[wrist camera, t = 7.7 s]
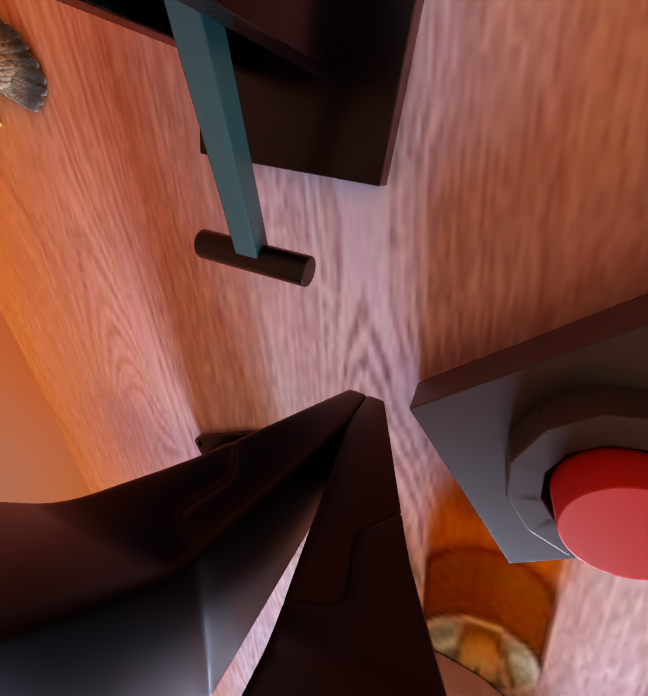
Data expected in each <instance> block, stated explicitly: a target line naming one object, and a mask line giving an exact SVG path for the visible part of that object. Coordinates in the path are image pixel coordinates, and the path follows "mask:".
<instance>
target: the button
mask: <svg viewBox="0 0 648 696" xmlns="http://www.w3.org/2000/svg"><path fill="white" fill-rule="evenodd" d="M550 494H551V499H552V505H553V510H554V516H555V521H556V527H557V531H558V534H559V537H560V539H561V541H562V542H563V543H564V545H565V546H566V548H567V549H568V550H569V551H570V552H571V553H572V554H573V555H575V556H576V557H577V558H578V559H580V560H581V561H583V562H584V563H586V564H588V565H590V566H591V567H594V568H596V569H598V570H600V571H603V572H606V573H608V574H612V575H615V576H619V577H624V578H629V579H637V580H648V454H647V453H645V452H641V451H638V450H633V449H628V448H620V447H602V448H594V449H589V450H585V451H581V452H579V453H576V454H574V455H572V456H570V457H568V458H567V459H565V460H564V461H562V462H561V463H560V464H559V465H558V466H557V467H556V469H555V470H554V472H553V474H552V476H551V479H550Z"/></svg>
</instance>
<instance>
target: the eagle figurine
mask: <svg viewBox="0 0 648 696" xmlns="http://www.w3.org/2000/svg"><path fill="white" fill-rule="evenodd" d="M28 50H29V46H28V44H27V43H25V42H23V41H21V40H20V35H19V33H18V32H17V31H15V30H14V29H13V28H12V27H11V26H9V25H7V24H5V23H4V22H3V21H2V20H1V19H0V94H2V95H4V96H5V97H7V98H9V99H11V100H12V101H14V102H16V103H18V104H20V105H21V106H23V107H24V108H26V109H28V110H31V111H33V112H38V106H41V105H44V99H43V96H46V95H47V94H48V89H47V87H46V83H47V79H46V77H45V75H44V74H43V73H42V72H41V71H40V70H39V67H40V65H39V63H38V61H37V59H36V58H35V57H34V56H32V55H31V54H29V53H28V52H27V51H28ZM1 126H2V123H1V122H0V127H1Z"/></svg>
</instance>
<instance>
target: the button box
mask: <svg viewBox="0 0 648 696" xmlns="http://www.w3.org/2000/svg"><path fill="white" fill-rule="evenodd" d="M410 410H411V411H412V413H413V415H414V416H415V418H416V419H417V421H418V422H419V424H420V425H421V427H422V429H423V430H424V432H425V433H426V435H427V436H428V438H429V439H430V441H431V442H432V444H433V446H434V447H435V449H436V450H437V452H438V453H439V455H440V456H441V458H442V460H443V461H444V463H445V464H446V466H447V467H448V469H449V470H450V472H451V474H452V475H453V477H454V478H455V480H456V481H457V483H458V484H459V486H460V488H461V489H462V491H463V492H464V494H465V495H466V497H467V498H468V500H469V501H470V503H471V505H472V506H473V508H474V509H475V511H476V512H477V514H478V515H479V517H480V519H481V520H482V522H483V523H484V525H485V526H486V528H487V529H488V531H489V533H490V534H491V536H492V537H493V539H494V540H495V542H496V543H497V545H498V547H499V548H500V550H501V551H502V553H503V554H504V556H505V557H506V559H507V561H508V562H509V563H519V562H533V561H546V560H560V559H574V558H577V557H576V556H575V555H573V554H572V553H571V552H570V551H569V550H568V549H567V548H566V546H565V545H564V543H563V542H562V541H561V539H560V537H559V534H558V531H557V527H556V521H555V516H554V510H553V505H552V499H551V494H550V479H551V476H552V474H553V472H554V470H555V469H556V467H557V466H558V465H559V464H560V463H561V462H562V461H564V460H565V459H567V458H568V457H570V456H572V455H574V454H576V453H579V452H581V451H585V450H589V449H594V448H602V447H620V448H628V449H633V450H638V451H641V452H645V453H647V454H648V294H645V295H643V296H640V297H638V298H635V299H632V300H630V301H627V302H625V303H622V304H620V305H617V306H615V307H612V308H609V309H607V310H604V311H602V312H599V313H597V314H594V315H592V316H589V317H586V318H584V319H581V320H579V321H576V322H574V323H571V324H568V325H566V326H563V327H561V328H558V329H556V330H553V331H551V332H548V333H545V334H543V335H540V336H538V337H535V338H533V339H530V340H527V341H525V342H522V343H520V344H517V345H515V346H512V347H510V348H507V349H504V350H502V351H499V352H497V353H494V354H492V355H489V356H487V357H484V358H481V359H479V360H476V361H474V362H471V363H469V364H466V365H463V366H461V367H458V368H456V369H453V370H451V371H448V372H446V373H443V374H440V375H438V376H435V377H433V378H430V379H428V380H425V381H422V382H420V383H418V385H417V388H416V391H415V394H414V397H413V400H412V403H411V406H410ZM577 559H578V558H577Z"/></svg>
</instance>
